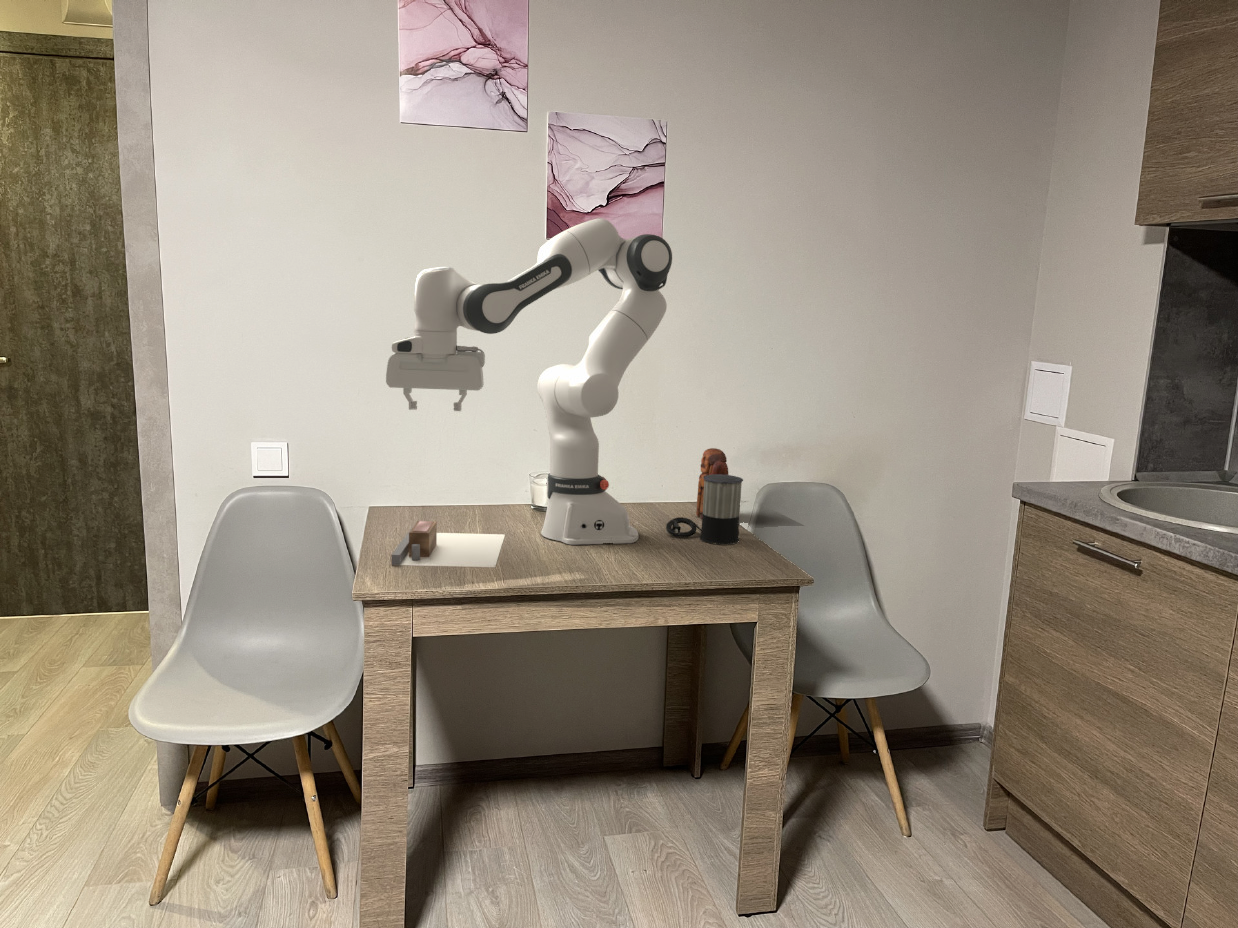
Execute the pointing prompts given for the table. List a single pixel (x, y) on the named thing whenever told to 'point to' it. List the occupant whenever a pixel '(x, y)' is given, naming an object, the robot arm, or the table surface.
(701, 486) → the wooden figurine
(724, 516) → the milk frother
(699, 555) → the table surface
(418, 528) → the wooden block
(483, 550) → the board
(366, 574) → the table surface
